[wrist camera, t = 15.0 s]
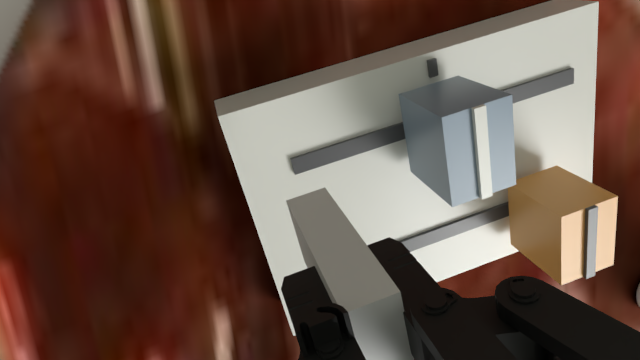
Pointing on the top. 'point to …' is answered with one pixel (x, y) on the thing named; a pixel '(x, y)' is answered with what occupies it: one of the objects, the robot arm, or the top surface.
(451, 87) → the slate fader
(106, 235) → the top surface
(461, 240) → the fader console
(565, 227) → the orange fader
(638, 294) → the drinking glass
